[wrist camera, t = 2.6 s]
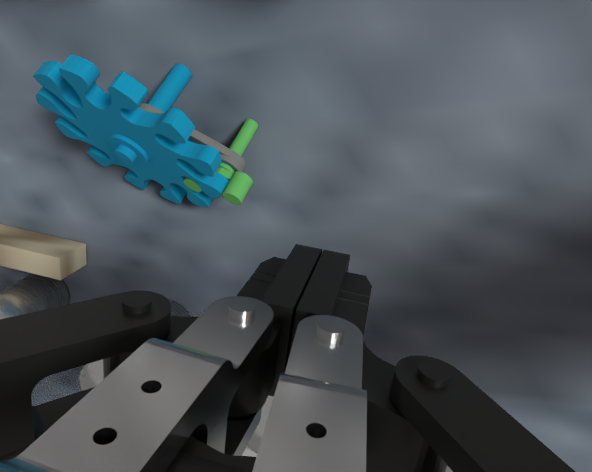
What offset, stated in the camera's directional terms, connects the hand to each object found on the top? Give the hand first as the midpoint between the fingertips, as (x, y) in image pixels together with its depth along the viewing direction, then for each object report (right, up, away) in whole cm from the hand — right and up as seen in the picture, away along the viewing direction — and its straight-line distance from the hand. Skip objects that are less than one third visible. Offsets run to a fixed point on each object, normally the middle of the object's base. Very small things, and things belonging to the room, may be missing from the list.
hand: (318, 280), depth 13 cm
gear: (-7, +7, +14) cm, 17 cm away
